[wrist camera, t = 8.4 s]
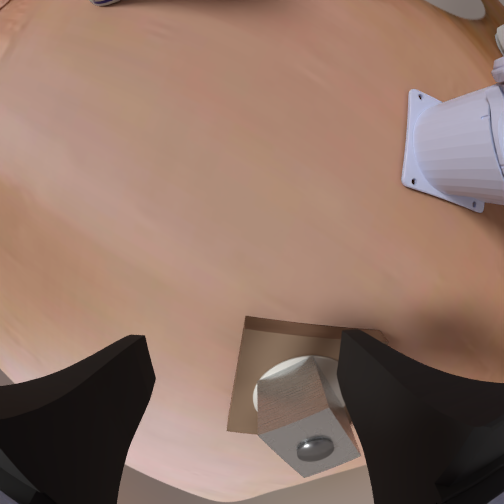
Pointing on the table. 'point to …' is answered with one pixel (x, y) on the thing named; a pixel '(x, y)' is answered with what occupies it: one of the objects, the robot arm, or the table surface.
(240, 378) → the stand
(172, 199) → the table surface
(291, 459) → the housing
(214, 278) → the table surface
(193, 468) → the table surface
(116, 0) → the energy drink
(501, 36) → the energy drink can
